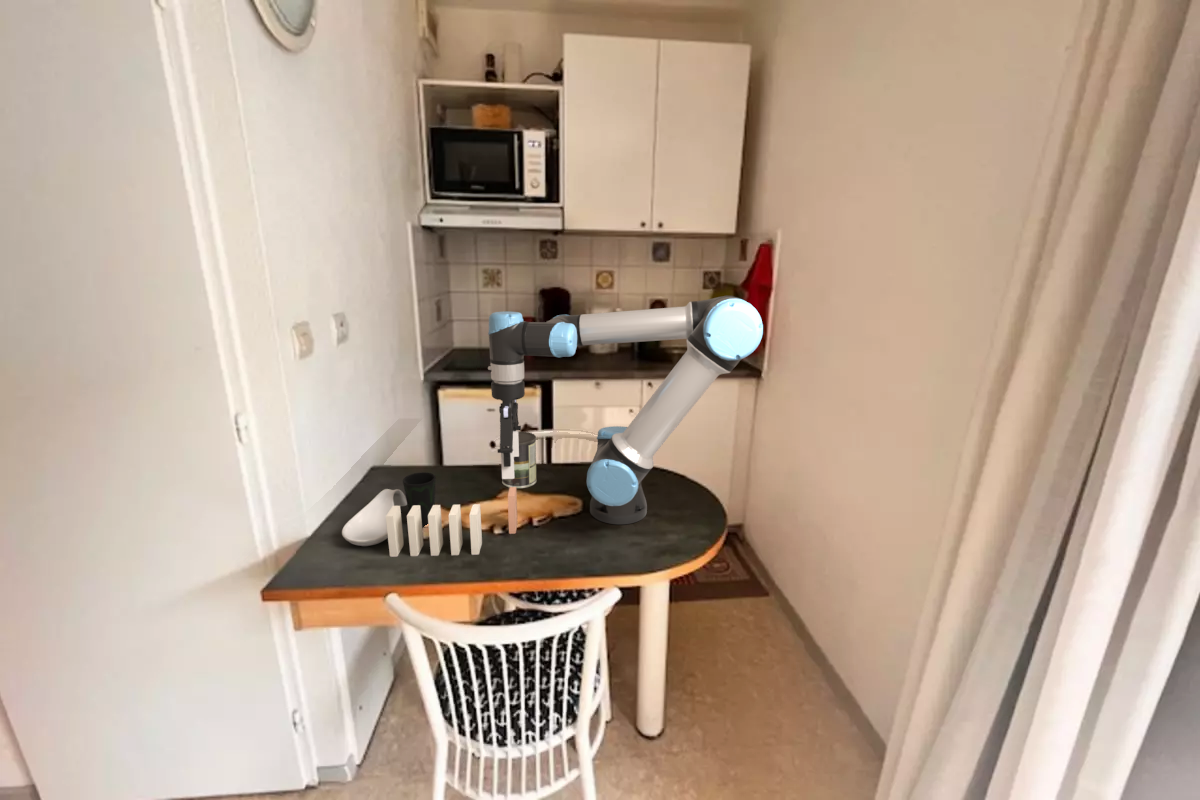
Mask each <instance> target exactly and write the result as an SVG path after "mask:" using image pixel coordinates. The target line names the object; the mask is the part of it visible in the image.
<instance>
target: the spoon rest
mask: <svg viewBox="0 0 1200 800" xmlns="http://www.w3.org/2000/svg"><path fill="white" fill-rule="evenodd" d="M392 506H400V507H405V506H408V505H407V500H406V495H405V493H404V492H403V491H402V490H401V489H399V488H398V489H397V488H396V489H390V488H389V489H388V488H384V489H383V490H382V491H380V492H379V493H378V494H377V495H376V496H375V497H374V498H373V499H372V500H371V501H370V502H368V504H366V505H365V506H364V507H363V508H362V509H360V510H359V511H358V512H357V513H356V514H355V515H354V516H352V517H351V518H350V519H349V520H348V521H347V522H346V523H345V524H344V526H343V528H342V530H341V535H342V537H343V539H345V541H347V542H349V543H350V544H352V545H355V546H359V547H360V546H361V547H369V546H375V545H378V544H381V543H382V542H384V541H385V540H388V533H387V524H386V515H387V514H388V512H389V511H390V509H391V508H392Z"/></svg>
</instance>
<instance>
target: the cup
mask: <svg viewBox="0 0 1200 800" xmlns="http://www.w3.org/2000/svg"><path fill="white" fill-rule="evenodd" d="M436 482H437V481H436V475H435V474H433V473H431V472H422V471H421V472H415V473H411V474H409V475H407V476H405V477H404V478H403V479H402V484H403V489H404V495H405V498H406V501H407V505H406V506H407V508H408V512H409V511H410V510H411V508H412V506H413V505H420V508H421V520H422V529H423V527H424V526H425V525H427V524H428V514H429V512H430V510H431V508H432V506H433V505H436ZM424 528H425V527H424Z"/></svg>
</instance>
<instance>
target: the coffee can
mask: <svg viewBox="0 0 1200 800" xmlns="http://www.w3.org/2000/svg"><path fill="white" fill-rule="evenodd" d="M518 439H519V457H514V479H502V478H501V479H502V481H501V483H502V484H503V486H505V487H506V488H510V487H516V489H526V488H529V487H532V486H534V485H535V484H536V483H537V435H535V434H534V433H533V432H528V431H518ZM506 447H508V446H506Z"/></svg>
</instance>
